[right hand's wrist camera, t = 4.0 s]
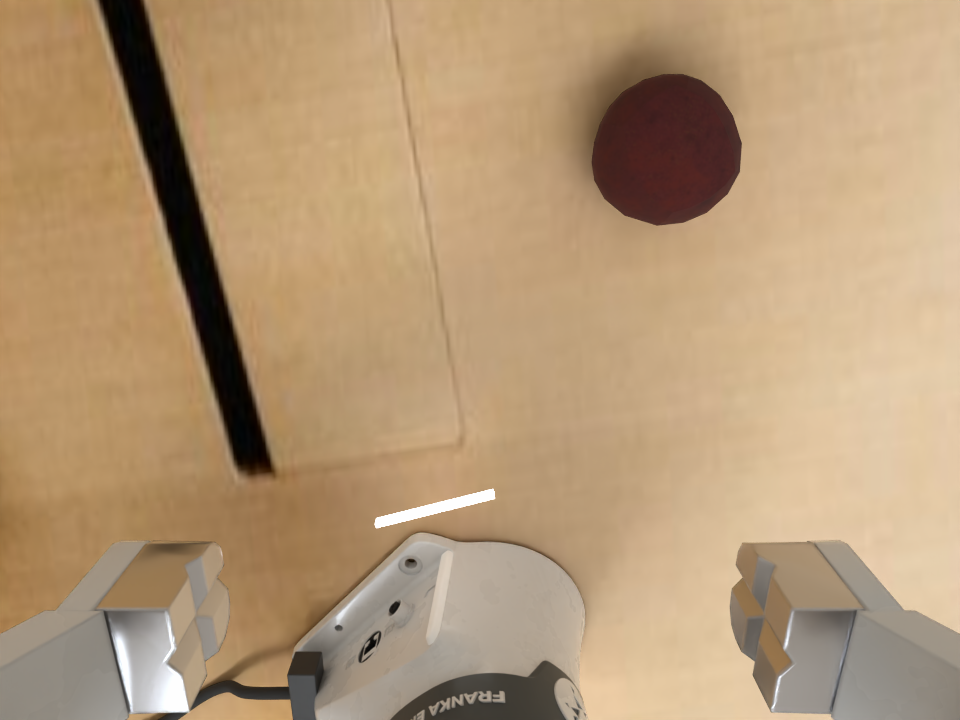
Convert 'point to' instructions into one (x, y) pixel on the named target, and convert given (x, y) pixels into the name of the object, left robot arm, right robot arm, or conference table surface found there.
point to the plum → (666, 150)
